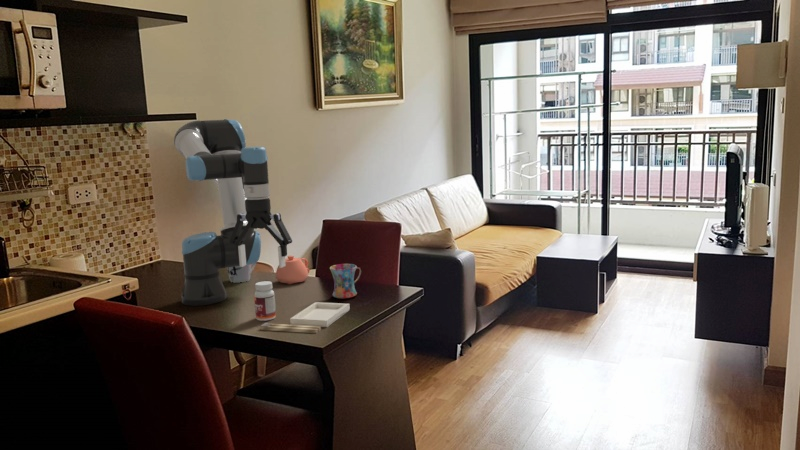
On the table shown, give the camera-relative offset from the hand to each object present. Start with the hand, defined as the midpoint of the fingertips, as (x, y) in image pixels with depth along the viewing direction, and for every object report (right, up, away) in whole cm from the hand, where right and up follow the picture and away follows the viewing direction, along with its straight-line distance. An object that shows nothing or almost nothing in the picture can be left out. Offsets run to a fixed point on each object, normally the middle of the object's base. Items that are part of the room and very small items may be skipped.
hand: (262, 266), depth 200 cm
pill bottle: (+1, -17, +3) cm, 17 cm away
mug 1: (-19, -9, +56) cm, 60 cm away
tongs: (+10, -18, -10) cm, 23 cm away
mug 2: (+24, -12, +25) cm, 37 cm away
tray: (+18, -16, +1) cm, 24 cm away
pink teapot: (+2, -9, +50) cm, 51 cm away
